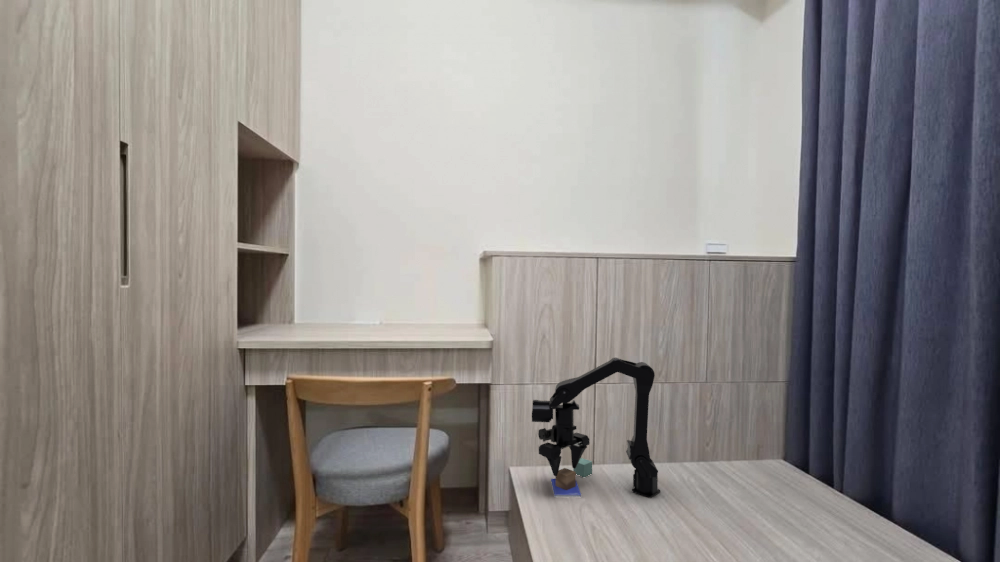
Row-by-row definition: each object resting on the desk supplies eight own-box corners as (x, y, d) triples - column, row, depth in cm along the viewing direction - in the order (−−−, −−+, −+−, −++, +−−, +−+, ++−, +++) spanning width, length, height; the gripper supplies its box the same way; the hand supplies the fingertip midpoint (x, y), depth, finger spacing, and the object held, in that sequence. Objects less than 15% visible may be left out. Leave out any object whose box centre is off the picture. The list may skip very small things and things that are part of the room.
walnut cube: (575, 486, 152) (575, 471, 152) (566, 490, 149) (566, 475, 149) (564, 481, 155) (564, 467, 155) (555, 485, 152) (555, 471, 152)
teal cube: (592, 474, 163) (592, 461, 163) (584, 478, 160) (584, 464, 160) (581, 471, 166) (581, 457, 166) (573, 474, 163) (573, 461, 163)
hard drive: (581, 494, 146) (575, 478, 158) (554, 494, 146) (550, 478, 158) (581, 500, 146) (575, 483, 158) (554, 499, 146) (550, 483, 158)
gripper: (563, 412, 165) (564, 457, 164) (525, 423, 152) (526, 472, 152) (590, 418, 156) (590, 466, 156) (552, 431, 144) (552, 483, 144)
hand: (564, 471), depth 152 cm, fingers open, 9 cm apart
